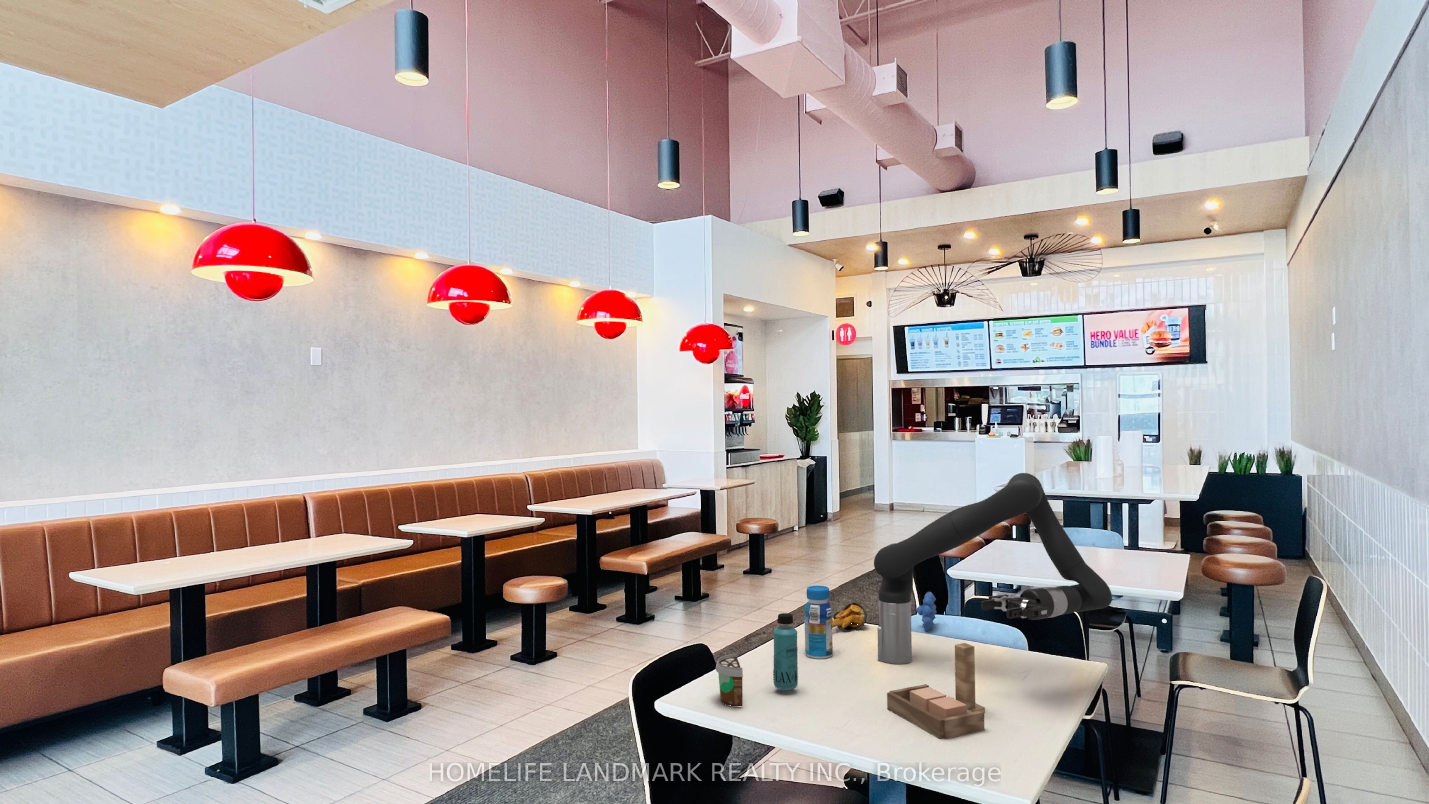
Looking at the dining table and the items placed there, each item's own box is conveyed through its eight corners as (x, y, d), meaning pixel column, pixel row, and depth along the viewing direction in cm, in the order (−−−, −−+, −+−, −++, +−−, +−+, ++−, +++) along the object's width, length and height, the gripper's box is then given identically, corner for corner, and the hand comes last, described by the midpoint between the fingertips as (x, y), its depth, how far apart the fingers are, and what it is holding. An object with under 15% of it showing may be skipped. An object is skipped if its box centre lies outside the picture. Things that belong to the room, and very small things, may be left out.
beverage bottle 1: (768, 691, 206) (767, 614, 206) (784, 684, 211) (782, 609, 211) (788, 697, 202) (787, 618, 202) (803, 690, 206) (802, 613, 207)
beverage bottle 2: (799, 653, 238) (798, 586, 238) (823, 649, 241) (822, 583, 242) (814, 661, 230) (813, 592, 230) (838, 656, 234) (837, 588, 234)
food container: (714, 692, 206) (713, 653, 206) (737, 691, 207) (737, 652, 207) (718, 710, 194) (717, 669, 194) (743, 709, 194) (742, 668, 194)
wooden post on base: (957, 699, 199) (956, 635, 199) (1001, 720, 185) (1000, 651, 185) (928, 705, 195) (927, 640, 195) (971, 727, 182) (969, 657, 182)
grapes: (919, 623, 268) (918, 587, 268) (939, 625, 265) (939, 589, 265) (912, 632, 258) (912, 595, 258) (933, 634, 255) (933, 597, 255)
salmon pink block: (949, 717, 188) (949, 696, 188) (967, 726, 182) (966, 704, 182) (929, 721, 185) (928, 700, 185) (946, 731, 180) (945, 709, 180)
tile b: (930, 707, 194) (929, 687, 194) (946, 716, 189) (946, 695, 189) (910, 711, 192) (909, 690, 192) (926, 720, 186) (925, 699, 186)
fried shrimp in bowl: (878, 613, 264) (853, 606, 251) (862, 642, 264) (837, 637, 251) (856, 598, 270) (831, 591, 257) (841, 627, 270) (815, 621, 257)
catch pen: (926, 700, 199) (925, 684, 199) (984, 729, 180) (984, 712, 180) (885, 708, 194) (885, 691, 194) (941, 739, 175) (941, 721, 175)
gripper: (1066, 624, 195) (1016, 632, 188) (1022, 610, 208) (973, 617, 201) (1066, 594, 195) (1016, 601, 188) (1022, 582, 208) (973, 588, 201)
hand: (994, 609), depth 195 cm, fingers open, 8 cm apart
